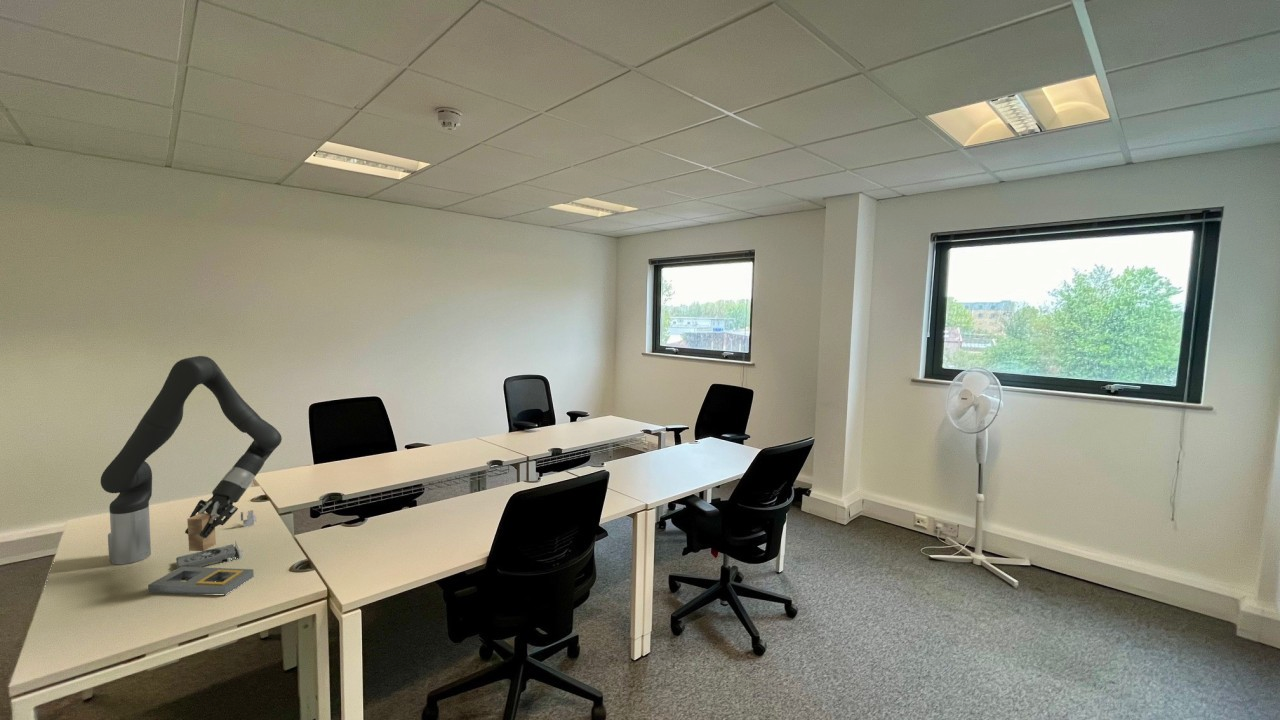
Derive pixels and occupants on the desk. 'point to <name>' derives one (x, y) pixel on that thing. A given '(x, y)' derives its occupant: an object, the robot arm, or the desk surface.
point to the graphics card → (210, 556)
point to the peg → (195, 529)
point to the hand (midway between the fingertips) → (195, 535)
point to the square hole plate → (200, 580)
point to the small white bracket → (248, 519)
